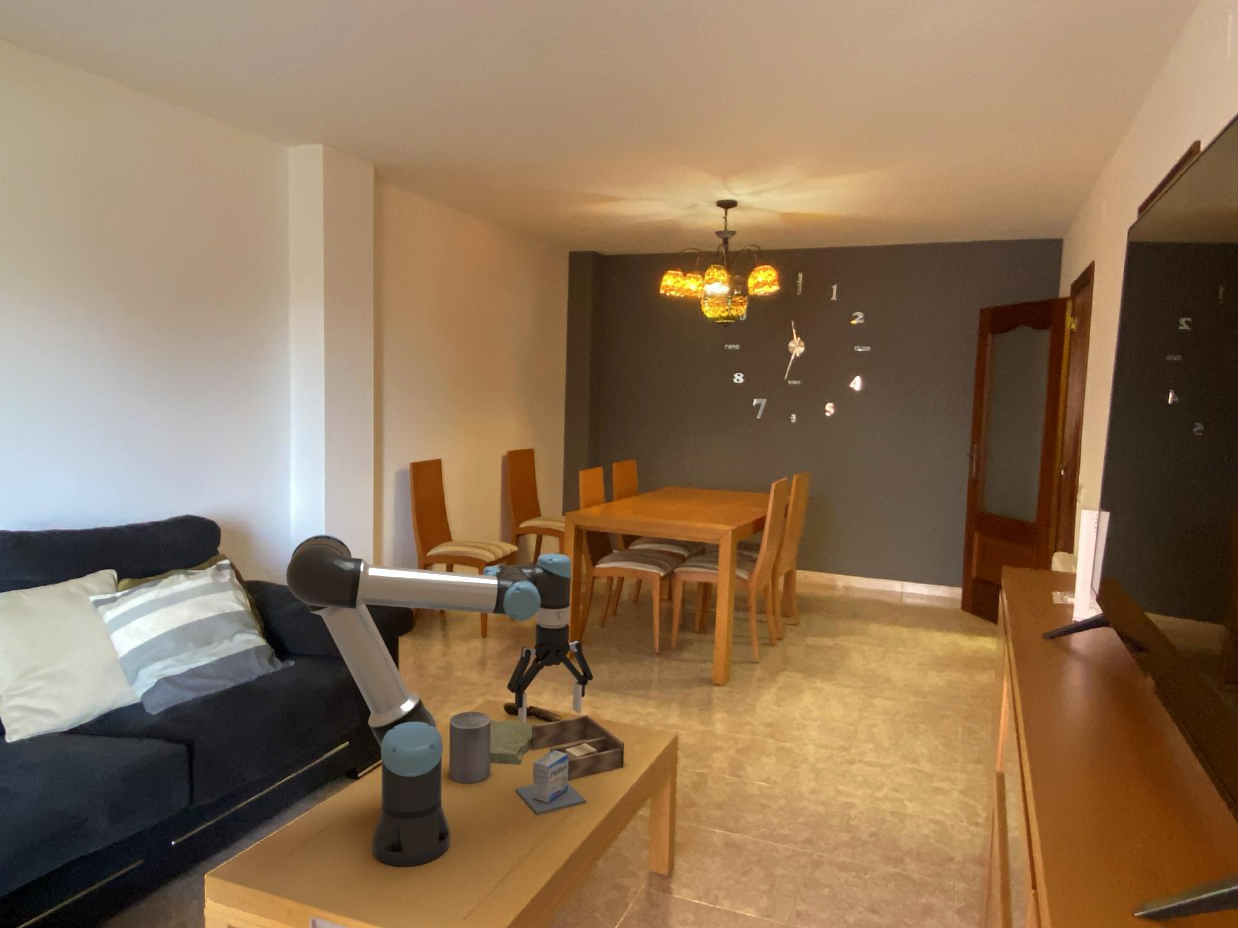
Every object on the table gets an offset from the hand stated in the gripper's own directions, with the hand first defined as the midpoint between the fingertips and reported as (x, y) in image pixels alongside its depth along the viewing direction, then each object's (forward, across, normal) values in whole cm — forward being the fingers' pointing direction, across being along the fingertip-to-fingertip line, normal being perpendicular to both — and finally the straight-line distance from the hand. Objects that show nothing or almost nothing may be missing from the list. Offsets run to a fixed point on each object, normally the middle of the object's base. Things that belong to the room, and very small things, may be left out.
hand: (549, 715), depth 188 cm
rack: (+19, +15, +15) cm, 28 cm away
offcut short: (+17, +13, +10) cm, 24 cm away
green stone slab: (+20, 0, +30) cm, 36 cm away
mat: (+19, +1, 0) cm, 19 cm away
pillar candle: (+19, -12, +18) cm, 29 cm away
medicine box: (+18, 0, 0) cm, 19 cm away
